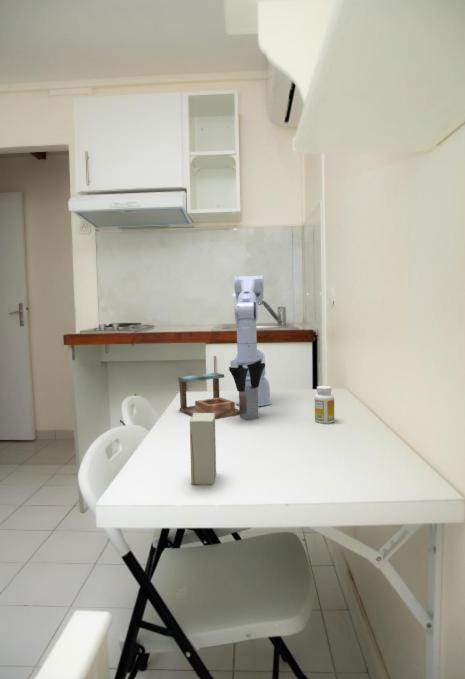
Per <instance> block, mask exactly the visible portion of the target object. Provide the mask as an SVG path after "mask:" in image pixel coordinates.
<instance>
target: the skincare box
mask: <svg viewBox="0 0 465 679" xmlns="http://www.w3.org/2000/svg"><path fill="white" fill-rule="evenodd" d="M189 436H190V437H189V440H190V442H189V443H190V444H189V445H190V446H189V447H190V478H191V479H190V485H214V484H215V481H216V475H217V451H216V450H217V449H216V448H217V446H216V445H217V443H216V442H217V441H216V419H215V413H193V415H192V416H190V420H189Z"/></svg>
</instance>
